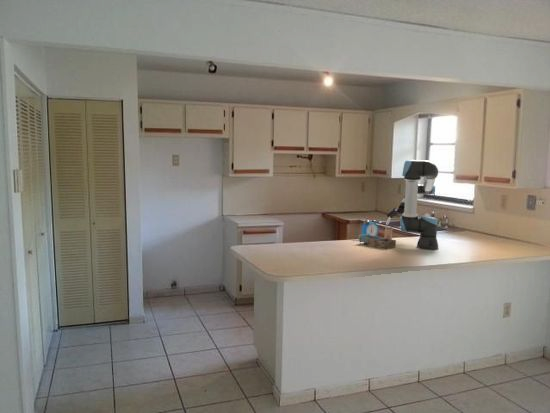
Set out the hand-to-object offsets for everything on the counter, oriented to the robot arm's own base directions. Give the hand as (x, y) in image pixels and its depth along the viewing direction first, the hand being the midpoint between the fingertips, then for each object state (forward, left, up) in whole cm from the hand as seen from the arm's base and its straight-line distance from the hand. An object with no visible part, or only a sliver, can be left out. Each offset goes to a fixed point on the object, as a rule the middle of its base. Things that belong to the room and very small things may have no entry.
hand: (394, 225), depth 363 cm
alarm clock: (+19, +4, -13) cm, 24 cm away
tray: (+2, +26, -11) cm, 29 cm away
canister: (-1, +8, -13) cm, 15 cm away
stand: (-6, +26, -13) cm, 30 cm away
